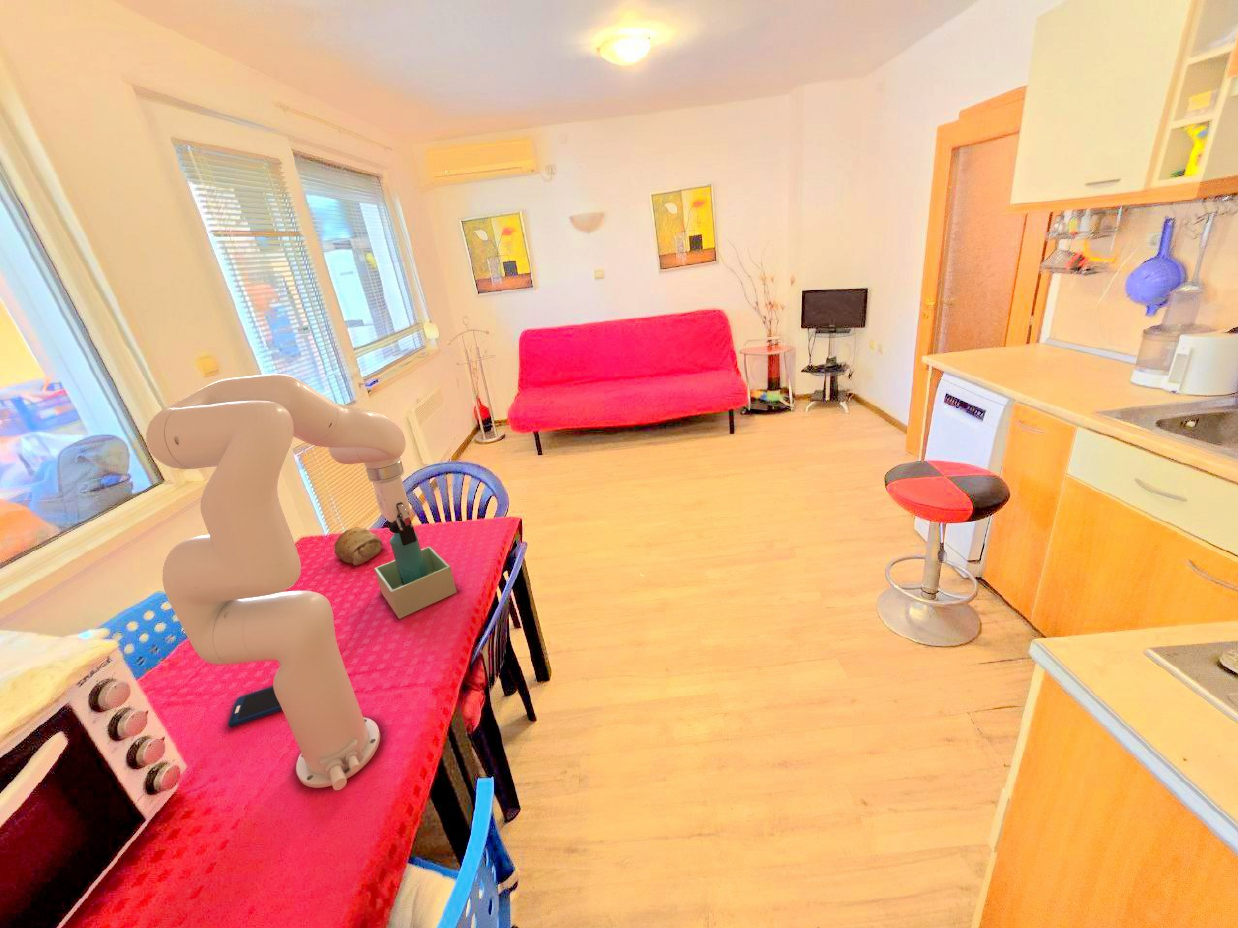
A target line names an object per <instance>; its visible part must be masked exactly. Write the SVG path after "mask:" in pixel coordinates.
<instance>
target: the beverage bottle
mask: <svg viewBox="0 0 1238 928" xmlns="http://www.w3.org/2000/svg"><path fill="white" fill-rule="evenodd" d="M402 522H403V520H400V523H401V525H402ZM390 526H391V531H390V533H392V534H393V535H392V536H391V537H390V539H389V544H390V547H391V550H392V553H393V557H394V560H395V561H396V565H397V568H398V569H397V570H398V571H399V574H400V576H399V577H400V578H401V579H400V580H401V581H402V584H403V585H406V584H408V583H410V582H413V581H415V580H417V579H420V578H422V577H425V576H427V575H429V574H428V572H427V571H428V570H427V569H426V565H425V562H424V558H423V555H422V552H421V550H422V548H421V544H420V542H419V537H418V533H417V532H416V531H415V535H416V539H417V541H416V542H413V543H411V544H408V545H405V546H403V545H402V542H401V538H400V535H399V531H398V530H400V529H399V527H398V524H397V522H396V521H393V522H392V523H391V524H390Z"/></svg>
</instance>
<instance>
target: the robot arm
mask: <svg viewBox="0 0 1238 928" xmlns="http://www.w3.org/2000/svg"><path fill="white" fill-rule="evenodd" d="M146 428H147V429H146V434H145V440H146V445H147V448H148V450H149V452H150V453H151V455H152V456H153V458H155V459H156V460H157V461H158V462H160V463H161V464H163V465H165V466H167V467H170V468H173V469H179V470H195V469H203V468H205V469H206V468H214V467H215V469H214V471H213V473H212V474H211V476H210V478H209V480H208V481H207V483H206V485H205V486H204V489H203V492H202V495H201V499H200V512H201V513H200V514H201V517H202V519H203V523H204V525H205V528H206V531H207V533H208V534H203V535H197V536H193V537H190V538H186V539H184V540H182V541H180V542H179V543H177V544H176V545H175V546H174V547H173V548H172V549H171V550H170V551H169V553H168V554H167V556H166V557H165V561H164V563H163V567H162V586H163V590H164V594H165V596H166V598H167V601H168V603H169V604H170V606H171V608H172V610H173V612H174V614H175V616H176V618H177V620H178V621H179V624H180V625H181V627H182V629H183V631H184V633H185V635H186V637H187V639H188V641H189V643H190V644H191V646H192V648H193V649H194V652H195V653H196V654H197V656H198V657H200V658H201V659H202V660H203V661H204V662H206V663H208V664H211V665H216V666H226V665H227V666H229V665H238V664H246V663H253V662H254V663H255V662H267V661H275V662H278V664H279V667H278V669H277V670H276V672H275V674H274V677H273V681H272V686H273V689H274V692H275V695H276V697H277V700H278V702H279V703H280V706H281V708H282V710H281V711H282V712H283V714H284V718H285V720H286V722H287V724H288V726H289V729H290V731H291V733H292V735H293V738H294V740H295V742H296V744H297V747H298V749H299V751H300V754H299V755H298V759H297V760H296V764H295V765H296V766H295V773H296V775H297V777H298V780H299V781H300V782H301V783H302V784H303V785H304V786H306V787H309V788H314V789H319V788H327V787H332V789H333V790H334V791H340V790H342V789H344V788H345V787H346V785H347V783H348V779H349V778H351V777H352V776H354V775H355V774H357V773H358V772H359V771H360V770H362V769H363V768H364V767H365V766H366V765H367V764H368V763H369V762H370V760H371V759H372V758H373V756H374V755H375V753H376V752H377V750H378V748H379V745H380V741H381V731H380V730H379V726H378V724H377V723H376V722H375V721H374V720H373V719H371V718H368V717H365V716H364V715H363V713H362V709H361V706H360V704H359V701H358V698H357V696H356V694H355V691H354V688H353V685H352V682H351V680H350V677H349V674H348V671H347V669H346V666H345V664H344V663H345V662H344V661H343V658H342V655H341V652H340V649H339V645H338V642H337V636H336V631H335V620H334V619H335V618H334V612H333V607H332V604H331V602H330V600H329V599H328V598H327V596H325V595H323V594H322V593H319V592H316V591H313V590H289V591H287V590H288V589H290V588H292V587H293V586H294V585H295V584H297V582H298V580H299V578H300V576H301V571H302V561H301V558H300V555H299V552H298V548H297V546H296V542H295V540H294V537H293V535H292V532H291V530H290V527H289V524H288V522H287V519H286V517H285V514H284V511H283V508H282V506H281V502H280V499H279V494H278V493H279V491H278V485H279V478H280V474H281V471H282V468H283V465H284V462H285V459H286V457H287V455H288V453H289V450H290V448H291V446H292V443H293V440H294V438H295V439H297V440H300V441H301V442H305V443H306V444H309V445H311V446H315V447H320V448H328V452H329V455H330V457H331V459H333V460H334V461H335V462H337V463H338V464H343V465H355V464H356V465H357V464H364V467H365V471H366V474H367V478H368V481H369V482H370V483H372V485H373V489H374V494H375V499H376V502H377V507H378V510H379V513H380V514H381V515H382V516H383V517H384V518H385V519H386V522H387V526H388V529H389V532H391V526H390V524H391V523H392V522H393V521H396V522H397V524H398V527H399V529H400V530H398V531H399V535H400V538H401V542H402V545H403V546H405V545H408V544H411V543H413V542H416V541H417V539H416V535H415V532H416V531H415V528H414V525H413V523H412V519H411V517H410V516H411V514H412V512H411V507H410V503H409V500H408V496H407V492H406V489H405V485H404V483H403V479H402V476H403V475H404V474H405V470H404V467H403V463H402V458H401V456H402V455H404V452H405V450H406V444H407V443H406V442H407V441H406V437H405V434H404V432H403V429H402V428H401V427H400V426H399V425H398V424H397V423H396V422H395V421H394V420H392V419H391V418H389V417H388V416H386V415H385V414H383V413H380V412H377V411H373V410H369V409H364V408H360V407H355V406H352V405H347V404H341V403H337V402H334V401H333V400H331V399H330V398H328V397H327V396H325V395H323V394H322V393H320V392H319V391H318V390H316V389H314V388H313V387H311V386H310V385H308V384H307V383H305V382H304V381H301V379H299V378H297V377H294V376H292V375H288V374H283V373H272V374H271V373H270V374H261V375H250V376H249V375H248V376H240V377H229V378H224V379H220V380H217V381H214V382H212V383H210V384H208V385H205V386H204V387H202V388H200V389H198V390H196V391H194V392H192V393H190V394H189V395H187V396H185V397H183V398H181V399H180V400H178V401H176V402H173V403H172V404H170V405H168V406H166V407H165V408H163V409H162V410H160V411H158V412H157V413H156V414H155V415H154V416H153V417H152V418H151V420H150V421H149V424H148V426H147V427H146ZM400 520H403V522H402V525H401V523H400Z"/></svg>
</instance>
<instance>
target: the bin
mask: <svg viewBox="0 0 1238 928" xmlns="http://www.w3.org/2000/svg"><path fill="white" fill-rule="evenodd" d="M421 552H422V555H423V558H424V562H425V565H426V569H427V570H428V571H427V572H428V574H429V575H427V576H425V577H422V578H420V579H417V580H415V581H413V582H410V583H408V584H406V585H403V584H402V581H401V580H400V579H401V578H400V577H399V576H400V574H399V571H398V570H397V569H398V568H397V565H396V561H395V559H394V560H390V561H389V562H387V563H384V564H381V565H379V566H376V567H374V572H375V576H376V579H377V583H378V586H379V588H380V592H381V595H382V596H383V598H384V599H385V600H386V602H387V603H388V605H389V606H390V608H391V609H392V611H393V612H394V614H395V616H396V617H397V618H398V619H399V620H400V619H402V618H405V617H407V616H410V615H411V614H413V613H415V612H417V611H420V610H422V609H424V608H426V607H428V606H430V605H432V604H435V603H438V602H439V601H441V600H443V599H446V598H448V597H450V596H453V595H455V594H457V588H456V584H455V580H454V575H453V571H452V567H451V565H449V564H448V563H447V561H445V559H444V558H443V557H442V556H441V555H440V554H438V553H437V551H435V550H434V548H432V547H431V546H426V547H424V548H421Z"/></svg>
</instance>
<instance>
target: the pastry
mask: <svg viewBox="0 0 1238 928" xmlns="http://www.w3.org/2000/svg"><path fill="white" fill-rule="evenodd" d="M382 545H383V541H382V539H381V538H380V537H379V536H378V535H377V534H375V533H373V532H372V531H370V530H369V529H367V528H365V527H360V526H355V527H354V528H350V529H346V530H345V531H343V533H341V534H340V535H339V536H338V537H337V539H336V541H335V542H334V544H333V546H334V547H333V548H334V550H333V551H334V554H335V556H336V557H337V558H338V559H340V560H341V561H342V562H344V563H347V564H351V565H352V564H353V566H355V567H356V566H357V567H358V566H360V565H362V564H365V563H367V562H368V561H370V560H372V559H373V558H375V556H377V555H379V554H380V553H381V551H382Z"/></svg>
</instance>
